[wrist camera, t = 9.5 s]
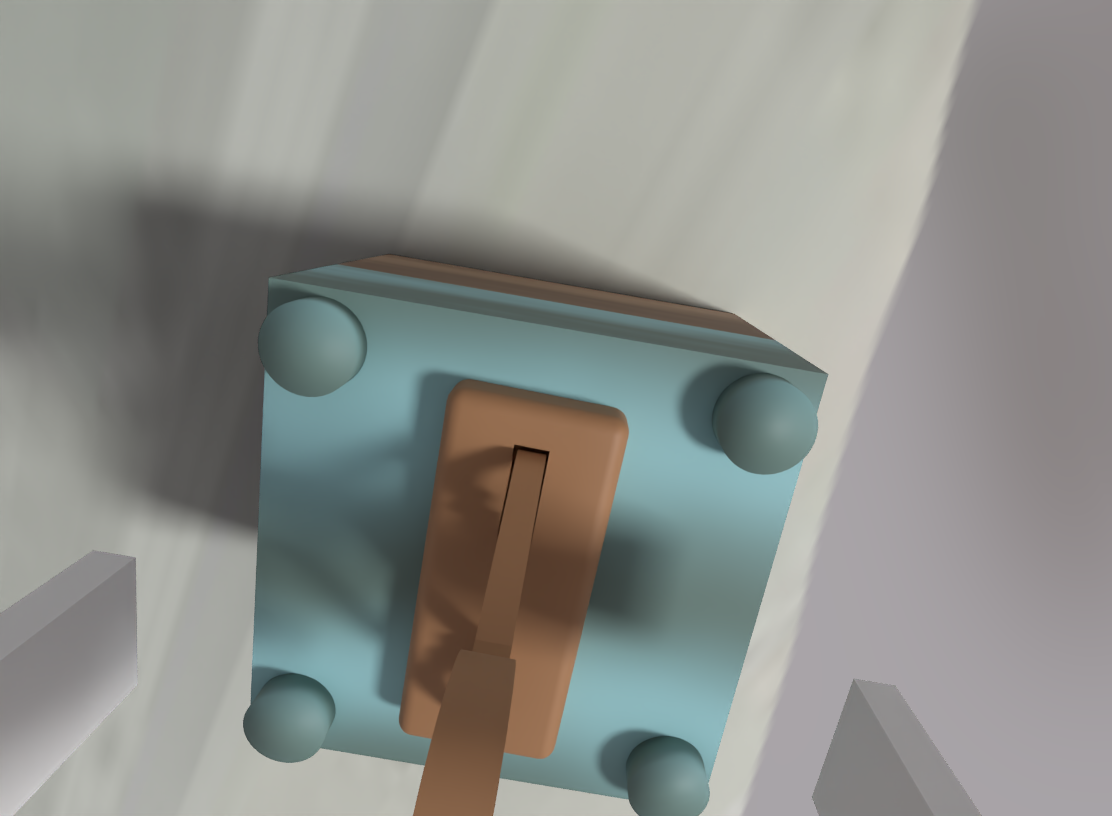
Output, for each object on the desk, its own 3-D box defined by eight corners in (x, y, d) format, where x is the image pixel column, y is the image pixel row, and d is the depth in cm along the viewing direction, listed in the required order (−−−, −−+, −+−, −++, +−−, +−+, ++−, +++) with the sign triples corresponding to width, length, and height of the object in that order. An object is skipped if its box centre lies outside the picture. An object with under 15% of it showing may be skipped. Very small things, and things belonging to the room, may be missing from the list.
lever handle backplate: (553, 736, 17) (490, 1851, 5) (404, 708, 17) (16, 1775, 5) (630, 410, 14) (823, 1193, 3) (455, 376, 14) (-68, 1029, 3)
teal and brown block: (389, 254, 23) (250, 280, 13) (734, 314, 23) (842, 383, 13) (360, 562, 26) (233, 760, 16) (660, 613, 26) (705, 838, 17)
